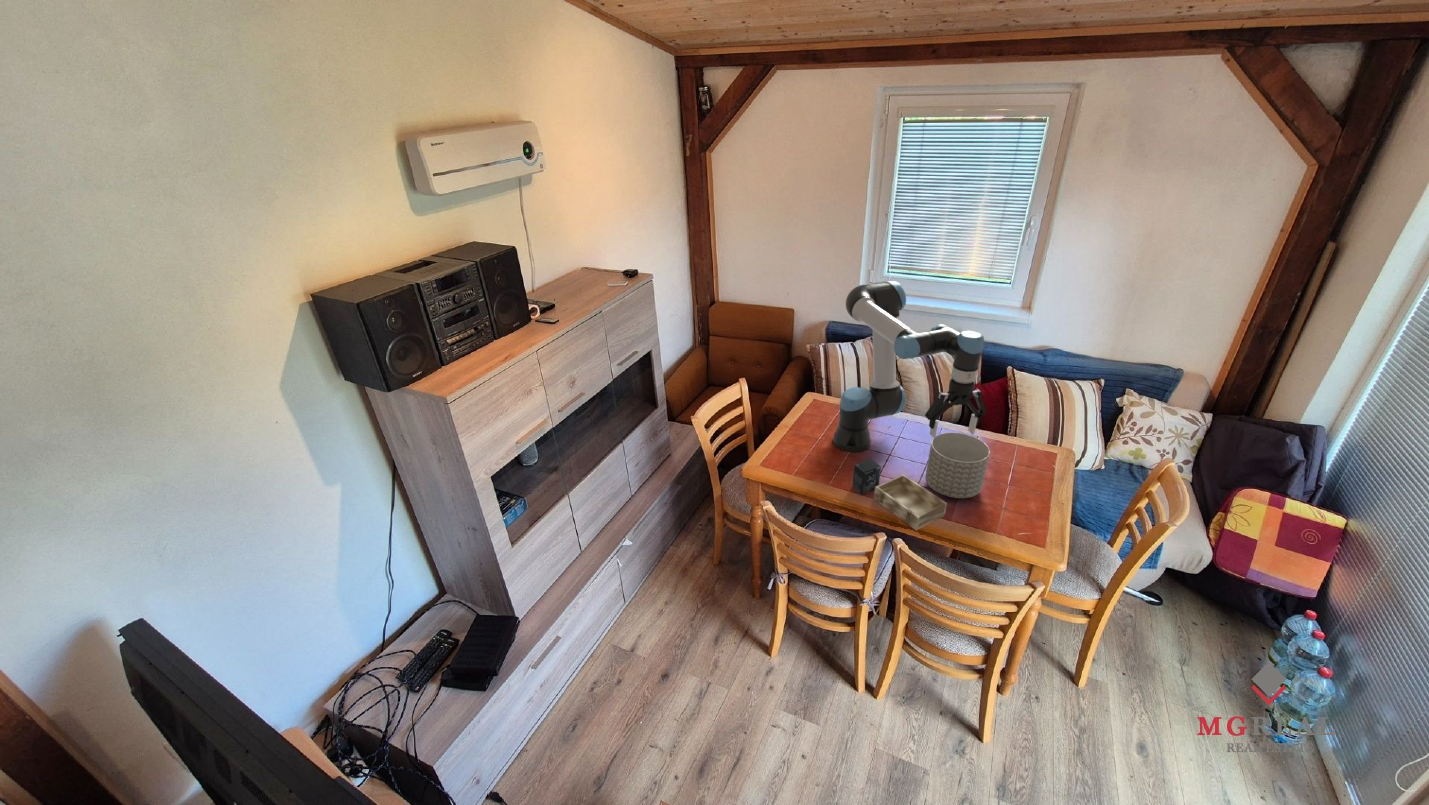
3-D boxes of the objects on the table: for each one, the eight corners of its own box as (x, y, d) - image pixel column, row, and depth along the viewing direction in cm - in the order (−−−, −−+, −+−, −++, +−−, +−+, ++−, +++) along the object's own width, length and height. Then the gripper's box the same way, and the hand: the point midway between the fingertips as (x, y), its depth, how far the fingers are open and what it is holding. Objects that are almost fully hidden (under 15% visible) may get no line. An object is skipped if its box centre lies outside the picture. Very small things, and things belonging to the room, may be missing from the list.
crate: (872, 499, 201) (874, 487, 198) (901, 486, 207) (902, 474, 204) (915, 531, 186) (917, 518, 183) (944, 515, 192) (947, 503, 189)
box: (861, 495, 203) (863, 472, 198) (851, 487, 207) (853, 464, 202) (878, 489, 205) (881, 466, 200) (869, 481, 210) (871, 458, 205)
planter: (975, 475, 210) (984, 434, 201) (984, 507, 194) (995, 465, 185) (921, 470, 214) (928, 430, 206) (926, 501, 198) (934, 459, 189)
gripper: (930, 387, 177) (920, 443, 187) (1006, 381, 178) (992, 436, 189) (920, 376, 183) (911, 431, 194) (994, 370, 185) (981, 425, 195)
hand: (951, 434), depth 191 cm, fingers open, 13 cm apart
